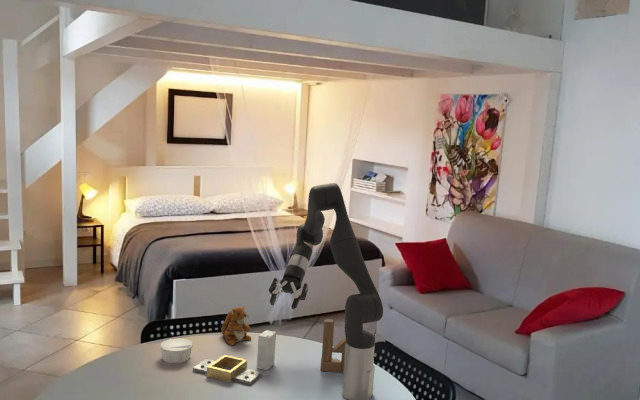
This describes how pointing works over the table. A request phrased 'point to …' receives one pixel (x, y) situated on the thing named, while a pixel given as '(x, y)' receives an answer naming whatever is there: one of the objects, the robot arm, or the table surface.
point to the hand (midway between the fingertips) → (282, 306)
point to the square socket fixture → (235, 374)
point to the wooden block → (331, 349)
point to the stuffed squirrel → (235, 326)
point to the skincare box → (266, 350)
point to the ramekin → (176, 350)
